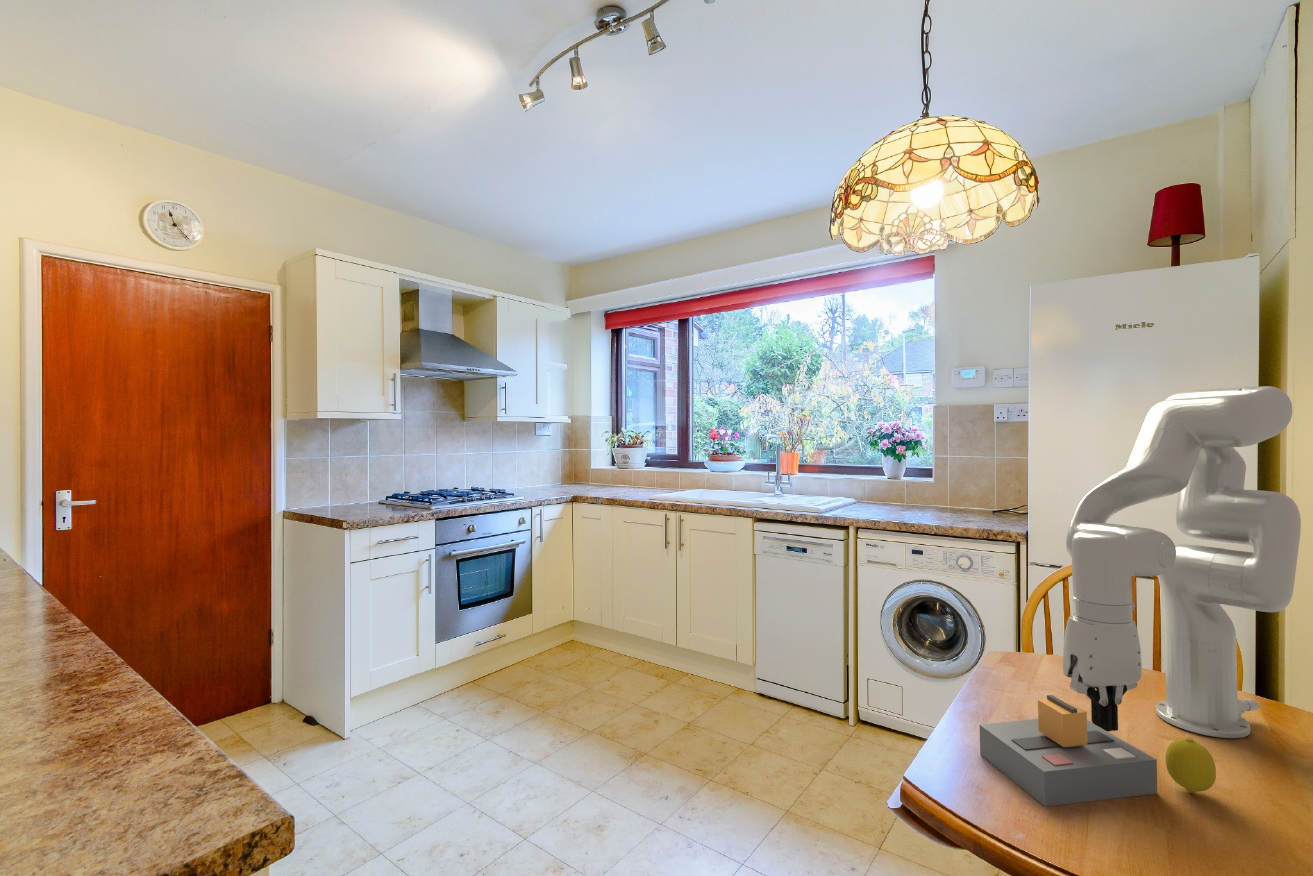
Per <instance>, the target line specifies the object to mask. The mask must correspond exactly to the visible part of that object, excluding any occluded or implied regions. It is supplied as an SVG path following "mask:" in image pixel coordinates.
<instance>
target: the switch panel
mask: <svg viewBox="0 0 1313 876" xmlns="http://www.w3.org/2000/svg"><path fill="white" fill-rule="evenodd" d="M979 746H980V747H979V753H980V754H979V755H980V756H981V757H983V758H984V759H985V760H986V761H988V763H991V764H992V765H993V766H994V768H996V769H998V771H1000V772H1002V774H1004V775H1005V776H1006V777H1007V778H1009V779H1010V780H1011V781H1013V782H1014V783H1015V784H1016V785H1017V786H1019V787H1020V788H1021V789H1023V791H1025V792H1026V793H1027V794H1028V795H1030V796H1031V797H1033V798H1034V799H1035V800H1036V801H1038V803H1039V804H1041V805H1043V806H1044V807H1053V806H1062V805H1069V804H1079V803H1087V802H1094V801H1104V800H1112V799H1114V800H1115V799H1121V798H1129V797H1131V798H1132V797H1138V796H1146V795H1155V794H1156V795H1157V794H1158V767H1157V766H1158V764H1157V763H1158V761H1157V759H1156V758H1155V757H1153V756H1152V755H1149V754H1148V753H1146V752H1145V751H1142V750H1140V749H1139V748H1137V747H1136V746H1134V745H1132V744H1130V743H1128V742H1127V741H1126V740H1123V739H1122V738H1120V737H1119V736H1116V735H1115V734H1112V733H1111V732H1110V731H1109V732H1107V731H1105V730H1104V729H1102V728H1100V727H1098V726H1097V725H1095V724H1093V723H1092V721H1090V720H1088V719H1087V745H1080V746H1070V747H1062V746H1061V745H1059V744H1058V743H1056V742H1055V741H1053V740H1052V739H1050V738H1049V737H1047V736H1046V735H1044V734H1042V733H1041V732H1039V726H1038V718H1035V719H1023V720H1013V721H1004V722H994V723H993V722H991V723H982V724H981V723H980V724H979Z"/></svg>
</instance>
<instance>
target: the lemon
mask: <svg viewBox="0 0 1313 876" xmlns="http://www.w3.org/2000/svg"><path fill="white" fill-rule="evenodd" d="M1164 759H1165V762H1164V763H1165V767H1166V770H1167V772H1168V774H1169V776H1170V777H1171V778H1172V780H1173V781H1174V782H1175V783H1176V784H1178V785H1179V786H1180V787H1182V788H1184V790H1186V791H1187V793H1190V794H1195V793H1198V792H1205V791H1207V790H1209V789H1210V788H1211V787H1213V785H1215V781H1216V779H1217V770H1216V763H1215V761H1214V757H1213V755H1212V754H1211V753H1210V751H1209V750H1208V749H1207V748H1206V747H1205V746H1204V745H1203V744H1201V743H1200V742H1198V741H1196V740H1194V739H1193V738H1192V737H1186V738H1177V739H1174V740H1173V741H1171V742H1170V743H1169V745H1168V746H1167V749H1166V751H1165V758H1164Z"/></svg>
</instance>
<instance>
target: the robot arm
mask: <svg viewBox="0 0 1313 876" xmlns="http://www.w3.org/2000/svg"><path fill="white" fill-rule="evenodd" d="M1292 416H1293V403H1292V401H1291V399H1290V397H1289V395H1288V394H1287V393H1286V392H1285V391H1284V390H1283V389H1280V388H1278V387H1275V386H1271V385H1269V386H1267V385H1266V386H1265V385H1263V386H1261V385H1260V386H1249V387H1248V386H1247V387H1245V386H1244V387H1243V386H1242V387H1231V388H1230V387H1228V388H1209V389H1198V390H1188V391H1187V390H1186V391H1183V392H1182V391H1181V392H1178V393H1177V392H1176V393H1174V394H1172V395H1170V396H1168V397H1167V398H1166V399H1165V400H1162V401H1160V402H1157V403H1156V404H1154V405H1153V406H1152V407H1151V408H1150V409H1149V410H1148V412H1147V414H1146V416H1145V418H1144V421H1143V423H1142V426H1141V428H1140V431H1139V433H1138V436H1137V438H1136V441H1135V443H1134V446H1133V448H1132V451H1131V453H1130V456H1129V459H1128V462H1127V464H1126V466H1125V467H1124V468H1123V469H1121V470H1120V471H1119V472H1116V473H1115V474H1112V475H1111V476H1110V477H1108V478H1106V479H1105V480H1103V481H1101V483H1099V484H1098V485H1097V486H1095V487H1094V488H1092V489H1091V490H1090V491H1089V492H1088V493H1086V494H1085V496H1084V497H1082V499H1081V500H1080V502H1079V503H1078V506H1077V507H1076V510H1075V512H1074V514H1073V517H1072V519H1071V522H1070V524H1069V527H1068V531H1067V535H1066V539H1065V542H1066V543H1065V544H1066V545H1065V546H1066V550H1067V553H1068V555H1069V556H1070V558H1071V567H1072V568H1071V570H1072V571H1071V572H1072V573H1071V575H1072V578H1071V579H1072V608H1073V609H1072V616H1068V618H1067V622H1066V627H1065V631H1064V638H1063V648H1062V649H1063V651H1062V652H1063V653H1062V671H1063V675H1064V676H1065V677H1067V678H1070V684H1069V689H1070V690H1072V691H1074V692H1076V693H1077V694H1082V695H1085V696H1086V698H1087V699H1089V700H1090V705H1091V706H1090V708H1091V709H1090V712H1091V723H1093V724H1095V725H1097V726H1098V727H1100V728H1102V729H1104V730H1105V731H1107V732H1109V733H1110V732H1112V731H1113V732H1115V731H1116V732H1117V731H1118V730H1119V713H1118V712H1119V710H1118V708H1119V705H1121V704H1122V701H1123V696H1124V695H1125V694H1126V693H1127V692H1128V691H1131V690H1134V689H1136V688H1137V687H1138V685H1139V684H1138V682H1139V681H1140V680H1141V678H1142V670H1143V668H1142V665H1143V664H1142V663H1143V662H1142V654H1141V653H1142V652H1141V645H1140V639H1139V633H1138V629H1137V625H1136V622H1135V620H1134V617H1133V611H1134V610H1135V609H1136V605H1135V602H1133V580H1132V577H1156V576H1157V579H1158V583H1159V587H1160V592H1161V597H1162V602H1163V603H1162V604H1163V616H1164V652H1165V654H1164V655H1165V656H1164V657H1165V658H1164V659H1165V697H1166V698H1165V700H1161V701H1159V702H1157V703H1155V713H1156V715H1157V716H1159V718H1160V719H1162V720H1163V721H1165V722H1166V723H1169V724H1171V725H1172V726H1175V727H1177V728H1180V729H1183V730H1185V731H1188V732H1191V733H1196V734H1199V735H1203V736H1209V737H1213V738H1221V739H1222V738H1223V739H1240V738H1241V739H1242V738H1245V737H1247V736H1249V735H1250V734H1251V725H1250V723H1249V722H1248V721H1247V720H1246V719H1245V718H1243V716H1242V715H1243V714H1244V713H1245V712H1250V711H1251V712H1252V711H1259V709H1260V705H1259V702H1257V700H1256V699H1254V698H1242V699H1238V670H1237V669H1238V667H1237V666H1238V665H1237V664H1238V663H1237V632H1236V628H1235V625H1234V623H1233V621H1232V618H1231V617H1230V615H1229V614H1228V613H1227V612H1226V610H1225V609H1224V608H1223V607H1222V605H1225V606H1230V607H1235V608H1240V609H1247V610H1250V611H1251V610H1252V611H1258V612H1262V613H1263V612H1265V613H1279V612H1281V611H1283V610H1285V609H1286V608H1287V607H1288V606H1289V605H1290V602H1291V599H1292V597H1293V593H1294V586H1295V579H1296V574H1297V573H1296V572H1297V565H1298V558H1299V557H1298V554H1299V547H1300V540H1301V539H1300V538H1301V531H1302V530H1301V528H1302V521H1301V513H1300V510H1299V508H1298V505H1297V503H1296V502H1295V501H1294V500H1293V499H1292V498H1291V497H1290V496H1288V495H1286V494H1284V493H1281V492H1278V491H1270V490H1262V489H1261V490H1256V489H1245V480H1246V473H1247V465H1246V462H1245V460H1244V458H1243V457H1242V455H1241V454H1240V453H1239V452H1238V451H1237V450H1236V449H1235V448H1243V447H1250V446H1253V445H1257V444H1260V443H1261V442H1265V441H1266V440H1269V439H1271V438H1273V437H1276V436H1278V435H1279V434H1281V433H1282V432H1283V431H1285V430H1286V428H1287V427H1288V426H1289V424H1290V423H1291V420H1292V418H1293V417H1292ZM1175 494H1178V499H1177V502H1176V503H1177V504H1176V510H1175V511H1176V512H1175V521H1176V526H1177V528H1178V530H1179V531H1180V533H1182V534H1183V535H1185V536H1188V537H1191V538H1193V539H1194V538H1196V539H1199V540H1206V541H1213V542H1220V543H1221V542H1222V543H1231V544H1239V545H1240V544H1241V545H1249V546H1252V547H1253V552H1250V551H1245V550H1243V551H1242V550H1235V549H1227V548H1222V547H1214V546H1204V545H1197V544H1175V542H1174V541H1173V540H1172V539H1171V537H1169V536H1168V534H1166V533H1163V532H1162V531H1159V530H1157V529H1152V528H1146V527H1138V526H1129V525H1123V524H1116V523H1115V524H1114V523H1107V522H1108V521H1109V519H1110V518H1112V517H1113V516H1114V515H1116V514H1117V513H1119V512H1120V511H1122V510H1124V509H1126V508H1129V507H1132V506H1135V505H1139V504H1142V503H1146V502H1149V501H1154V500H1158V499H1161V498H1165V497H1167V496H1172V495H1175Z"/></svg>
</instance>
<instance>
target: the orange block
mask: <svg viewBox="0 0 1313 876" xmlns="http://www.w3.org/2000/svg"><path fill="white" fill-rule="evenodd" d="M1087 712H1088V711H1086V710H1084V709H1083V708H1080V707H1078V706H1077V705H1075V704H1073V703H1071V702H1069V701H1068V700H1066V699H1064V698H1062V697H1056V696H1055V695H1052V694H1047V695H1046V698H1043V699H1037V713H1038V714H1037V716H1038V717H1037V719H1038V726H1039V732H1041V733H1042V734H1044V735H1046V736H1047V737H1049V738H1050V739H1052V740H1053V741H1055V742H1056V743H1058V744H1059V745H1061V746H1062V747H1070V746H1080V745H1087V720H1088V715H1087V714H1088V713H1087Z"/></svg>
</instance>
